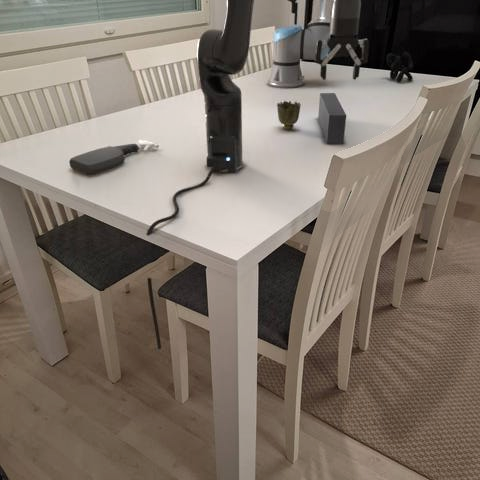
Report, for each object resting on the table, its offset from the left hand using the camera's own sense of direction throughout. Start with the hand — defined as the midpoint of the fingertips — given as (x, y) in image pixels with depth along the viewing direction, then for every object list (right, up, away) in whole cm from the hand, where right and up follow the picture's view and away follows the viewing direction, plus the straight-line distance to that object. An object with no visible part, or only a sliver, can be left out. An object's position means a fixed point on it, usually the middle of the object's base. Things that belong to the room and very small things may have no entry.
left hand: (339, 79), depth 126 cm
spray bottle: (-62, -23, -1) cm, 67 cm away
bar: (+1, -10, +17) cm, 20 cm away
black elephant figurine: (+44, +26, +74) cm, 90 cm away
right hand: (-2, +28, +26) cm, 38 cm away
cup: (-13, -10, +19) cm, 24 cm away
